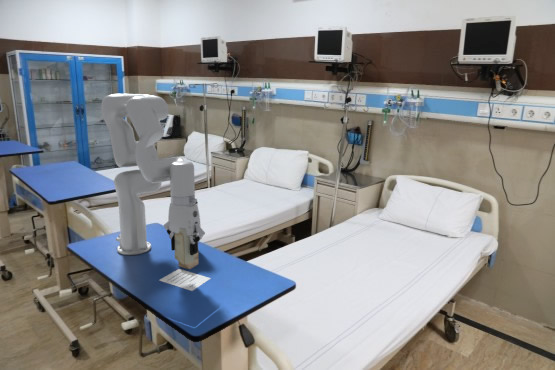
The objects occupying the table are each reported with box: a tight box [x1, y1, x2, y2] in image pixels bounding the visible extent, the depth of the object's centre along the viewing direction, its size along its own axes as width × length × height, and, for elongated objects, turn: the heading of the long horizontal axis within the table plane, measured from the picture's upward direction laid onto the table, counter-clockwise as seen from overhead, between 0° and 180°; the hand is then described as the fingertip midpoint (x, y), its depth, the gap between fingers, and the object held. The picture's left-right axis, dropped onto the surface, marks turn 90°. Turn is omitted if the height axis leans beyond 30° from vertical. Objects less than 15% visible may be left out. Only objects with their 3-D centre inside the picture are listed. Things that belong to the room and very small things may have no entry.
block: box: [178, 252, 199, 270], centre depth 143 cm, size 5×5×6 cm
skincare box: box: [174, 228, 194, 264], centre depth 130 cm, size 6×4×12 cm
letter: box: [158, 268, 212, 292], centre depth 133 cm, size 14×10×1 cm
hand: (184, 251), depth 131 cm, fingers closed on skincare box, 7 cm apart
